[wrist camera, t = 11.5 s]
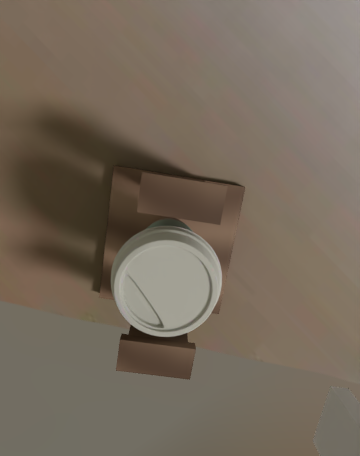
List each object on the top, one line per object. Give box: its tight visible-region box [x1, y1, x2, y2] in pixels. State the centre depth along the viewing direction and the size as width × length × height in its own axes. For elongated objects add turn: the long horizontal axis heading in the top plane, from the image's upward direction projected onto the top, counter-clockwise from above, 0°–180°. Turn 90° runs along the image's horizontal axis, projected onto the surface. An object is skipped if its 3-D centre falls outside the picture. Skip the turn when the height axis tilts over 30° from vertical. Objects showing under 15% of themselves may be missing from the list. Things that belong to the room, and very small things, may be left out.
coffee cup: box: [111, 218, 222, 337], centre depth 27 cm, size 8×8×12 cm
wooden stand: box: [99, 166, 245, 379], centre depth 28 cm, size 16×14×12 cm
